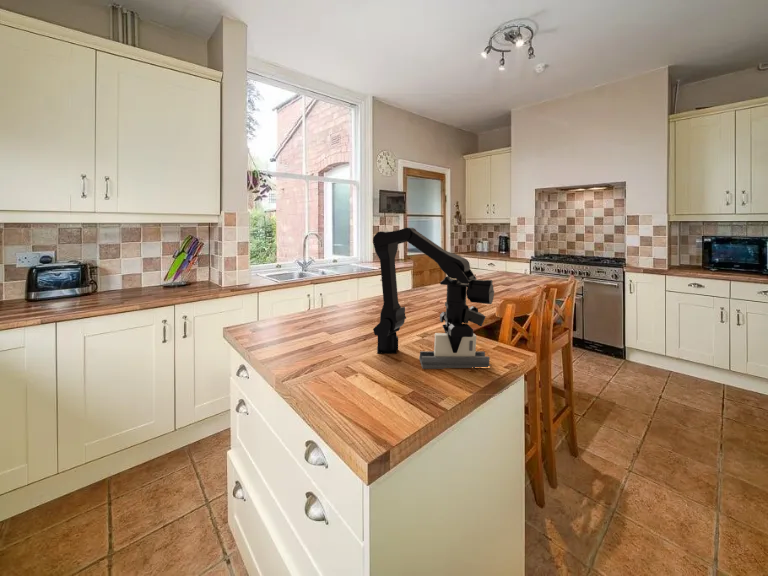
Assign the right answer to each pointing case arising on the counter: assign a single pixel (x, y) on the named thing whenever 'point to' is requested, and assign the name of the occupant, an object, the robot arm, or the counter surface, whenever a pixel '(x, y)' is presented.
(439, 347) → the door panel
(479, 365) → the track
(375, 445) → the counter surface
